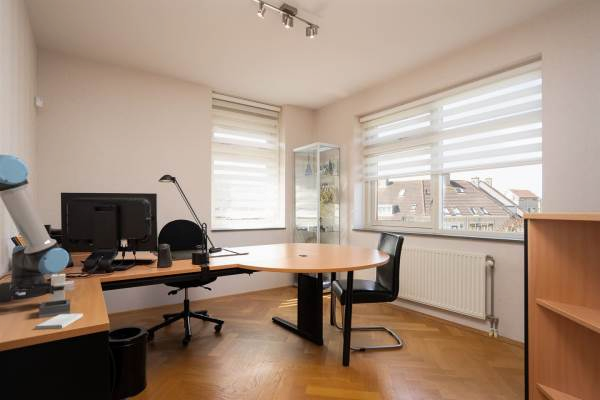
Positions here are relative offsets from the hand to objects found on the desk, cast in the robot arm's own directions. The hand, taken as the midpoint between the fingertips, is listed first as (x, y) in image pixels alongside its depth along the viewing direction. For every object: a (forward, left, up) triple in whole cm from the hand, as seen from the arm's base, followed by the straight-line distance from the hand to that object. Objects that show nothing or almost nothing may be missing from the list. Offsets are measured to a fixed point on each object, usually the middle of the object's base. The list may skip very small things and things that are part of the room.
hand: (73, 285), depth 133 cm
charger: (0, -5, -7) cm, 9 cm away
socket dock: (+14, -5, -7) cm, 17 cm away
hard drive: (+28, -3, -8) cm, 29 cm away
